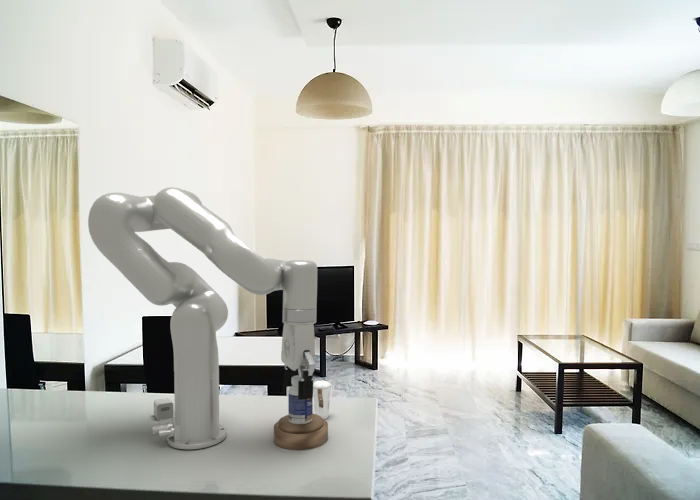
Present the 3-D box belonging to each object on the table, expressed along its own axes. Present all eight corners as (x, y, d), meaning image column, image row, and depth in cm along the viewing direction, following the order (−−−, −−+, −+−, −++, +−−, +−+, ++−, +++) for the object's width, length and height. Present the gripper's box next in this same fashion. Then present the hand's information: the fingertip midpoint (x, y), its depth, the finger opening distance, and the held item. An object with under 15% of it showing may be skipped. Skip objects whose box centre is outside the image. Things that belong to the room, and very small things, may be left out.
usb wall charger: (156, 420, 120) (156, 404, 119) (152, 412, 125) (152, 397, 125) (173, 417, 122) (173, 402, 122) (168, 409, 128) (168, 394, 127)
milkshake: (333, 420, 119) (333, 380, 119) (311, 420, 119) (311, 380, 119) (334, 414, 123) (334, 375, 123) (313, 414, 124) (313, 375, 123)
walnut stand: (283, 454, 100) (283, 435, 100) (267, 433, 111) (267, 416, 111) (336, 443, 105) (336, 425, 105) (316, 424, 116) (316, 408, 116)
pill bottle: (311, 425, 105) (311, 380, 105) (286, 425, 105) (286, 380, 105) (313, 416, 111) (313, 374, 111) (290, 416, 111) (290, 374, 111)
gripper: (272, 311, 114) (271, 383, 114) (295, 322, 98) (294, 406, 99) (302, 309, 117) (301, 380, 117) (330, 321, 101) (328, 402, 102)
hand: (298, 392), depth 108 cm, fingers open, 9 cm apart
